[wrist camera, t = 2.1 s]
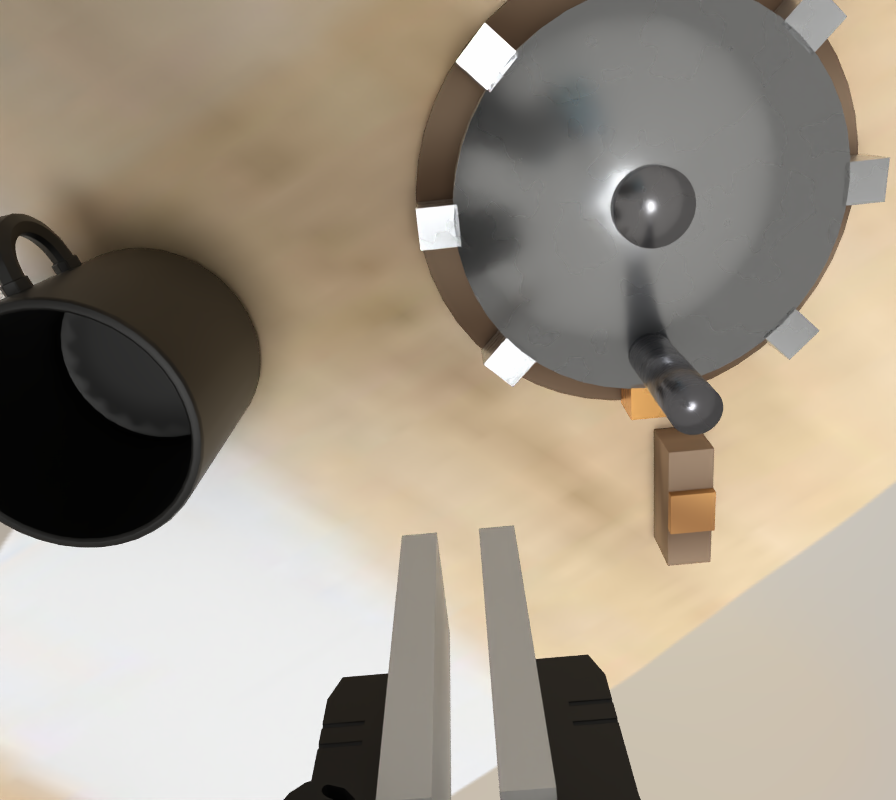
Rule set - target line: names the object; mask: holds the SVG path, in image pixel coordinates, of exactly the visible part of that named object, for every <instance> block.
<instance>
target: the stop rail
mask: <svg viewBox="0 0 896 800" xmlns="http://www.w3.org/2000/svg"><path fill="white" fill-rule="evenodd" d="M713 469H714V448H713V446H712V445H711V444H710V442H709V441H708V440H707V439H706V437H705V436H704V435H703V433H702V434H698V435H687V434H684V433H681V432H679V431H678V430H677V429H676V428H666V429H655V430H654V538H655V540H656V542H657V544H658V546H659V548H660V550H661V552H662V554H663V556H664V558H665V560H666V563H667V565H668V566H670V565H681V564H692V563H703V562H710V557H711V531H713V530H714V529H715V501H716V492H715V490H714V489H713Z"/></svg>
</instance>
